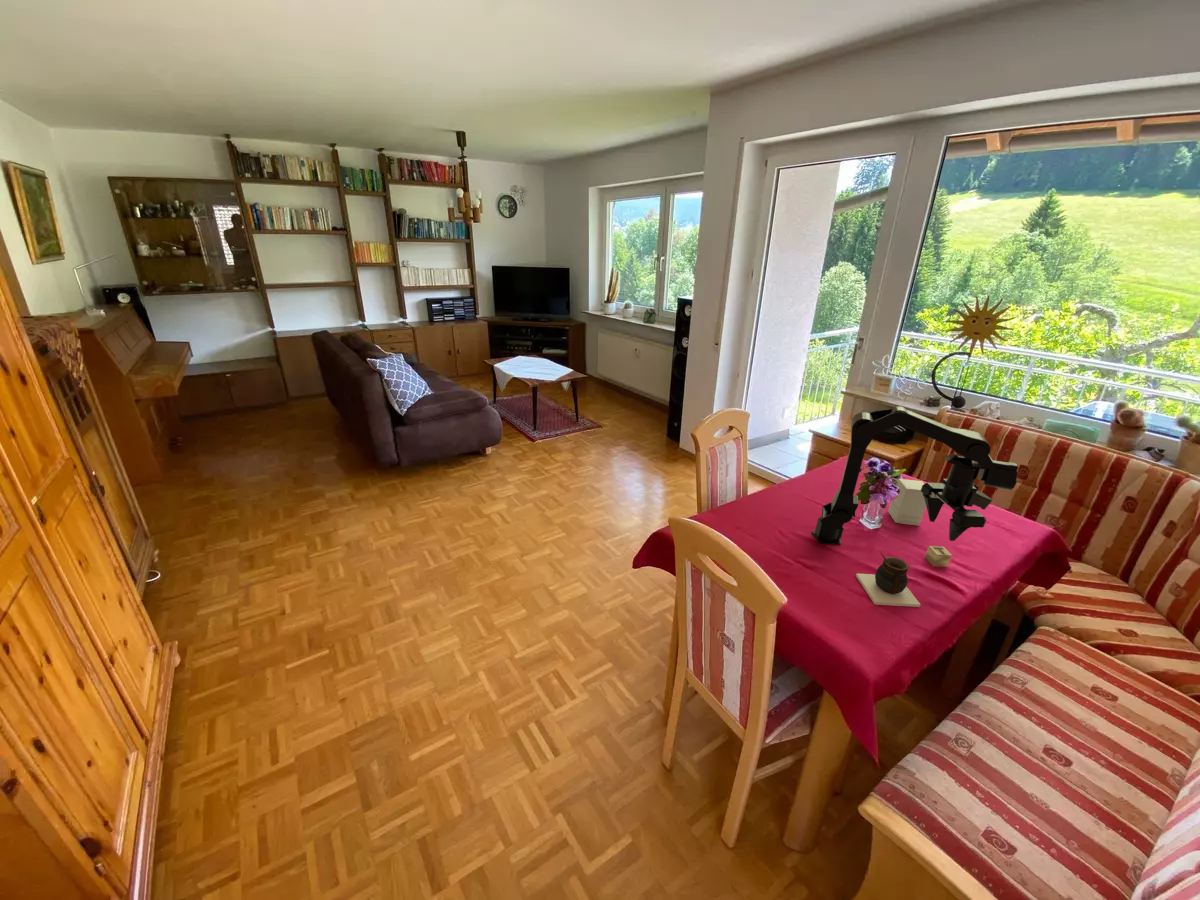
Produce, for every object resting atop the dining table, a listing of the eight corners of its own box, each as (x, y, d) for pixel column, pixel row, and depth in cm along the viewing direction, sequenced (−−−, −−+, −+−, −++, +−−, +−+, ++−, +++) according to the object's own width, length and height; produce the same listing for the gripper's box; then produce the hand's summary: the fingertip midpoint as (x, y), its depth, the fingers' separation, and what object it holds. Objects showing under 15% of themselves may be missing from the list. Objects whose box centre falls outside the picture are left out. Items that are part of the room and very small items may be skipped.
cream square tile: (874, 604, 122) (875, 601, 122) (855, 575, 132) (856, 573, 132) (919, 607, 122) (920, 604, 121) (897, 578, 132) (898, 575, 131)
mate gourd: (908, 599, 123) (920, 567, 119) (876, 595, 124) (886, 563, 120) (897, 580, 129) (908, 549, 125) (867, 577, 130) (876, 546, 126)
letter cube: (932, 566, 137) (937, 554, 136) (924, 557, 141) (929, 545, 139) (947, 567, 137) (952, 554, 136) (938, 558, 141) (943, 546, 139)
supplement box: (919, 526, 156) (932, 491, 151) (894, 523, 157) (906, 488, 152) (911, 514, 163) (923, 480, 157) (887, 511, 164) (898, 477, 159)
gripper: (1018, 499, 118) (995, 553, 125) (969, 465, 135) (950, 514, 142) (971, 497, 119) (950, 550, 125) (928, 463, 136) (911, 512, 142)
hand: (941, 530), depth 134 cm, fingers open, 9 cm apart
